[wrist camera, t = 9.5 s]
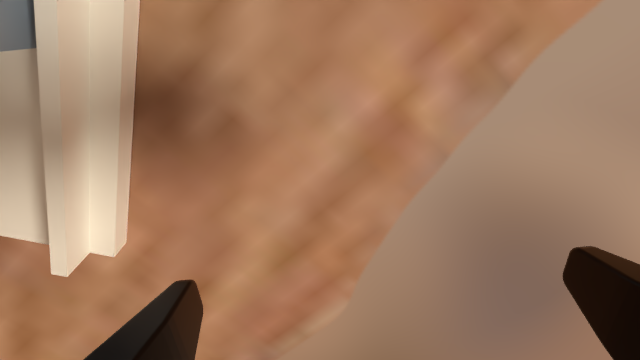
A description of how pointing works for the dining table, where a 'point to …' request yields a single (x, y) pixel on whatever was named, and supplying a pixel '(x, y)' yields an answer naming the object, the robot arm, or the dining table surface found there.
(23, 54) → the shelf
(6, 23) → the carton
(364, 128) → the dining table surface
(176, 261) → the dining table surface
